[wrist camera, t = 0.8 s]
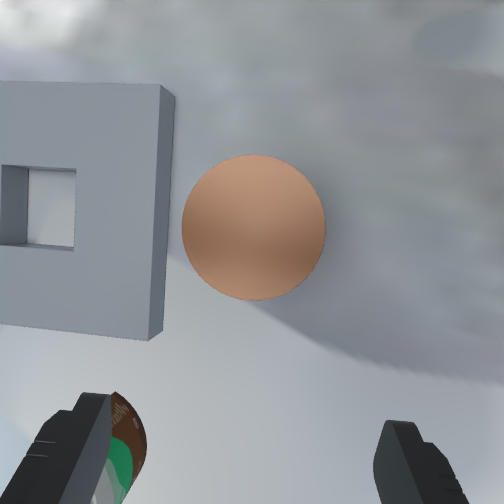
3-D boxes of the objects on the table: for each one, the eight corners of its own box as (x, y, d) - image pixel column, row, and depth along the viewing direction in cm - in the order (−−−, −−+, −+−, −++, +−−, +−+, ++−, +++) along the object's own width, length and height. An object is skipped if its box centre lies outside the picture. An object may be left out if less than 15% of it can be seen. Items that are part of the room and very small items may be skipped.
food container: (119, 536, 36) (43, 656, 26) (59, 495, 37) (-38, 597, 27) (187, 417, 34) (134, 496, 24) (123, 376, 35) (45, 437, 25)
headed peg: (250, 184, 32) (185, 151, 17) (326, 188, 31) (331, 158, 16) (245, 259, 33) (177, 293, 17) (320, 265, 32) (319, 307, 16)
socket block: (-37, 91, 35) (-70, 79, 32) (174, 96, 33) (160, 84, 30) (-39, 307, 37) (-71, 315, 34) (162, 330, 34) (147, 341, 31)
